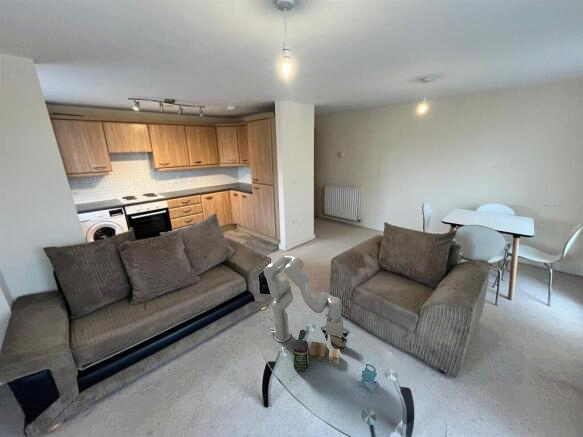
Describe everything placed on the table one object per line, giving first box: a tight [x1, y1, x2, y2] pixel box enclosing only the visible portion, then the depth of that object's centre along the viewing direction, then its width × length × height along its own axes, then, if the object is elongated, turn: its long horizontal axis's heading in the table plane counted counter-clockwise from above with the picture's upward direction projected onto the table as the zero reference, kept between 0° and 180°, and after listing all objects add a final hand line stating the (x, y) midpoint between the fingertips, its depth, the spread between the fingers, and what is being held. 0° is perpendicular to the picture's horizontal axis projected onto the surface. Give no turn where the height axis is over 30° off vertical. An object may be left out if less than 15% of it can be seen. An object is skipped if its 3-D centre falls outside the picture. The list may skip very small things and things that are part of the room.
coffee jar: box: [292, 339, 310, 372], centre depth 146 cm, size 10×8×19 cm
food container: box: [329, 335, 348, 352], centre depth 160 cm, size 12×6×10 cm, turn 58°
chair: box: [360, 363, 379, 394], centre depth 134 cm, size 8×8×12 cm
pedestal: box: [308, 340, 327, 362], centre depth 157 cm, size 10×10×4 cm
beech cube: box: [328, 347, 341, 366], centre depth 151 cm, size 6×6×6 cm
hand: (334, 340), depth 146 cm, fingers open, 9 cm apart
